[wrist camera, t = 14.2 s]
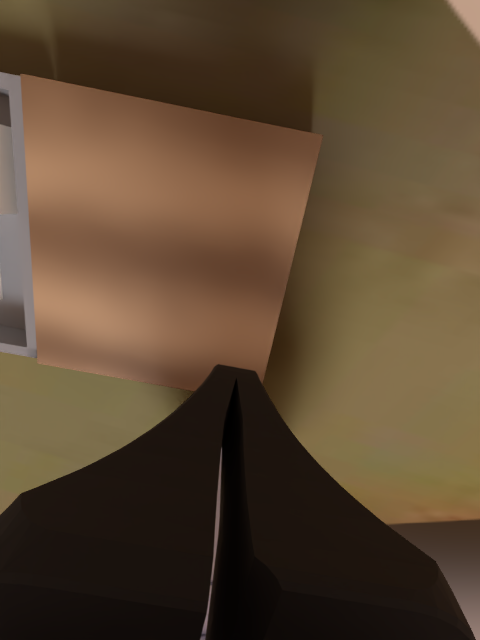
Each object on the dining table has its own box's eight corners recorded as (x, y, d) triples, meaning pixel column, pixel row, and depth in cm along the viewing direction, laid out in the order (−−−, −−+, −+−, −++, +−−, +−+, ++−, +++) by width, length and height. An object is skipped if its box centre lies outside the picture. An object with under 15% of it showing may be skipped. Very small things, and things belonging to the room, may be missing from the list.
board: (257, 376, 21) (257, 402, 18) (66, 341, 21) (37, 363, 18) (311, 146, 16) (323, 135, 13) (61, 95, 16) (20, 73, 13)
